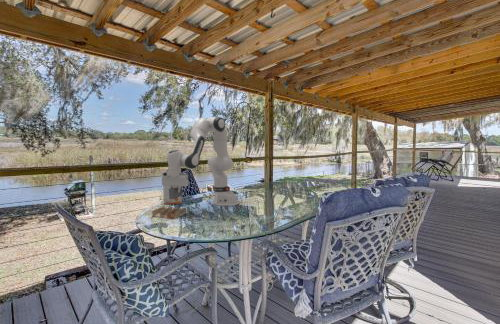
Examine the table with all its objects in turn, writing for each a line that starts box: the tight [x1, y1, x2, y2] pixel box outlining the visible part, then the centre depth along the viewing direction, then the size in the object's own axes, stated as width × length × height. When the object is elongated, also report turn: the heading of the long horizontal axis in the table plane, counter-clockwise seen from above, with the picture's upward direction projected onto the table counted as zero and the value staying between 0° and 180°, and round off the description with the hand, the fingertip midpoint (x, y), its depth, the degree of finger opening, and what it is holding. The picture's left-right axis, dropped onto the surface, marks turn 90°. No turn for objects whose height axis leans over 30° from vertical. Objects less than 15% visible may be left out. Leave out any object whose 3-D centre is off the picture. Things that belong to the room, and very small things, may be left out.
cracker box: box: [162, 185, 183, 205], centre depth 236 cm, size 14×6×21 cm, turn 84°
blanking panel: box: [169, 186, 183, 199], centre depth 200 cm, size 3×12×7 cm, turn 163°
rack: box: [151, 205, 188, 220], centre depth 203 cm, size 19×17×4 cm
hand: (175, 192), depth 200 cm, fingers closed on blanking panel, 3 cm apart
